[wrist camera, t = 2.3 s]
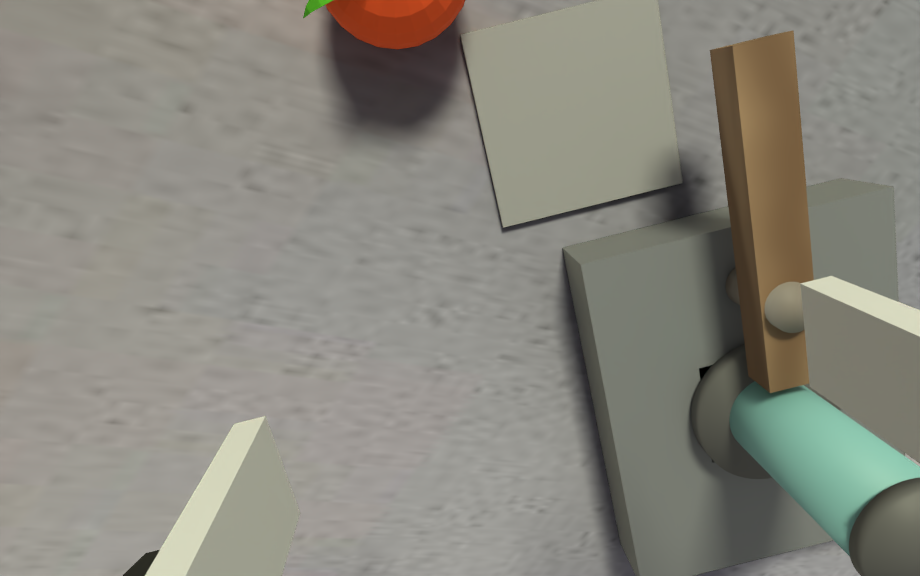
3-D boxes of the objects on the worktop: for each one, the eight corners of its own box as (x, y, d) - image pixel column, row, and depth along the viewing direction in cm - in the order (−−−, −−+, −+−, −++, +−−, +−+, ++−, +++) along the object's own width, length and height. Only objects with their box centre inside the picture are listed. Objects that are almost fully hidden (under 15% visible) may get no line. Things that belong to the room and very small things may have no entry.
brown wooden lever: (732, 362, 33) (777, 398, 29) (693, 53, 29) (740, 44, 25) (778, 351, 33) (830, 385, 29) (746, 40, 29) (802, 28, 25)
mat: (502, 226, 35) (503, 227, 34) (460, 35, 32) (460, 34, 32) (679, 182, 35) (682, 182, 34) (652, -13, 32) (655, -14, 32)
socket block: (620, 543, 41) (641, 588, 37) (562, 247, 35) (580, 264, 32) (861, 482, 41) (907, 521, 37) (841, 178, 35) (893, 186, 32)
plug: (670, 444, 39) (833, 655, 24) (652, 331, 37) (818, 484, 22) (789, 414, 39) (1027, 605, 24) (778, 299, 37) (1031, 430, 22)
